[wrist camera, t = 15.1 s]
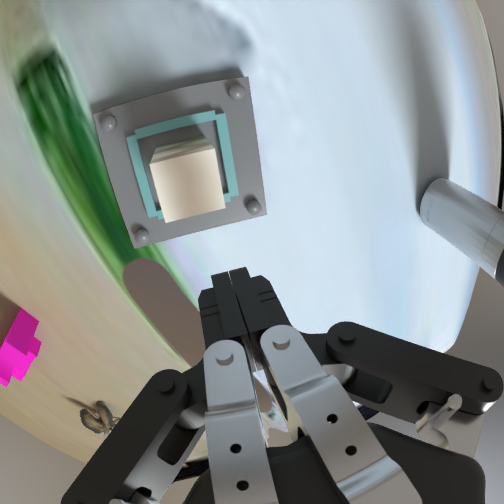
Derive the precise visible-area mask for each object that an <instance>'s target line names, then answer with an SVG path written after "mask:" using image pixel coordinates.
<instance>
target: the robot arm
mask: <svg viewBox="0 0 504 504" xmlns="http://www.w3.org/2000/svg"><path fill="white" fill-rule="evenodd" d="M420 216H421V220H422V222H423V223H424V224H425V225H426V226H428V227H429V228H430V229H432V230H433V231H435V232H436V233H437V234H439V235H440V236H441V237H443V238H444V239H446V240H447V241H448V242H450V243H451V244H452V245H454V246H455V247H456V248H457V249H459V250H460V251H461V252H463V253H464V254H465V255H466V256H468V257H469V258H470V259H472V260H473V261H474V262H475V263H476V264H478V265H479V266H480V267H481V268H483V269H484V270H485V271H486V272H487V273H489V274H490V275H491V276H492V277H493V278H494V279H496V280H497V281H498V282H499V283H500V284H501V285H502V286H504V211H502V210H501V209H499V208H498V207H496V206H494V205H493V204H491V203H489V202H488V201H486V200H484V199H482V198H481V197H479V196H477V195H475V194H474V193H472V192H470V191H468V190H466V189H465V188H463V187H461V186H459V185H457V184H455V183H453V182H451V181H449V180H447V179H445V178H438V179H436V180H435V181H433V182H432V183H431V184H430V185H429V187H428V188H427V190H426V192H425V194H424V196H423V199H422V202H421V207H420ZM229 274H230V277H229ZM229 274H228V271H227V272H223V273H219V274H215V275H211V278H212V283H213V288H209V289H205V290H202V291H201V293H200V296H199V298H198V303H199V309H200V315H201V322H202V328H203V334H204V339H205V346H206V351H205V354H204V357H203V358H202V360H201V361H200V362H199V363H198V364H197V365H196V366H194V367H193V368H191V369H189V370H187V371H185V372H183V373H181V372H179V371H177V370H173V369H166V370H162V371H160V372H158V373H156V374H155V375H153V376H152V377H151V379H150V380H149V381H148V383H147V384H146V385H145V387H144V388H143V389H142V391H141V392H140V393H139V395H138V396H137V397H136V399H135V400H134V401H133V403H132V404H131V405H130V407H129V408H128V409H127V411H126V412H125V413H124V415H123V416H122V417H121V419H120V420H119V421H118V423H117V424H116V425H115V427H114V428H113V429H112V431H111V432H110V433H109V435H108V436H107V438H106V439H105V440H104V442H103V443H102V444H101V446H100V447H99V448H98V450H97V451H96V452H95V454H94V455H93V456H92V458H91V459H90V460H89V462H88V463H87V464H86V466H85V467H84V469H83V470H82V471H81V473H80V474H79V476H78V477H77V478H76V479H75V481H74V482H73V483H72V485H71V486H70V488H69V489H68V490H67V492H66V493H65V494H64V496H63V497H62V500H61V504H161V503H160V502H159V501H160V500H161V498H162V497H163V495H164V494H165V492H166V491H167V489H168V488H169V486H170V485H171V483H172V482H173V480H174V478H175V477H176V475H177V474H178V472H179V471H180V469H181V468H182V466H183V464H184V463H185V461H186V460H187V458H188V457H189V455H190V453H191V452H192V450H193V448H194V447H195V445H196V444H197V442H198V440H199V439H200V437H201V435H202V434H203V432H204V430H206V439H207V448H208V456H209V464H210V468H209V469H207V470H206V471H205V472H204V473H203V474H202V475H201V476H200V477H199V478H198V479H197V481H196V482H195V483H194V485H193V487H192V488H191V490H190V492H189V494H188V496H187V497H186V499H185V501H184V502H183V504H485V475H484V471H483V469H482V467H481V466H480V464H479V463H478V462H477V461H476V460H475V459H473V458H474V455H475V451H476V448H477V444H478V441H479V437H480V433H481V429H482V425H483V421H484V416H485V413H486V411H487V410H488V408H490V407H491V406H492V405H493V404H494V403H495V402H496V401H497V400H498V398H499V397H500V396H501V395H502V392H503V381H502V378H501V376H500V375H499V373H498V372H497V371H495V370H494V369H492V368H489V367H485V366H482V365H479V364H476V363H472V362H469V361H466V360H462V359H460V358H456V357H453V356H450V355H447V354H444V353H441V352H438V351H435V350H432V349H429V348H426V347H423V346H420V345H417V344H414V343H411V342H408V341H405V340H402V339H399V338H396V337H393V336H390V335H387V334H385V333H382V332H379V331H376V330H373V329H370V328H368V327H365V326H362V325H359V324H356V323H353V322H340V323H337V324H335V325H333V326H332V327H331V328H330V329H329V330H328V332H327V333H323V334H306V333H302V332H300V331H298V330H297V329H295V328H294V327H293V326H292V325H291V323H290V322H289V320H288V318H287V316H286V314H285V312H284V310H283V307H282V305H281V303H280V301H279V299H278V298H277V295H276V293H275V291H274V289H273V287H272V285H271V283H270V281H268V280H267V279H266V278H264V277H263V276H261V275H260V276H256V277H252V278H250V275H249V273H248V270H247V268H246V267H243V268H239V269H235V270H231V271H229ZM230 279H231V280H230ZM231 283H232V284H231ZM253 358H254V360H253ZM254 361H255V364H256V367H257V370H258V371H259V370H262V369H264V372H265V375H266V378H267V382H268V386H269V389H270V391H271V393H272V395H273V397H274V399H275V402H276V404H277V406H278V408H279V410H280V412H281V414H282V416H283V418H284V421H285V423H286V425H287V428H288V431H289V434H290V436H291V438H292V441H293V443H292V444H290V445H288V446H283V447H268V444H267V439H266V436H265V432H264V427H263V423H262V419H261V414H260V410H259V406H258V401H257V397H256V392H255V381H254V377H253V373H252V372H256V368H255V364H254ZM352 401H355V402H357V403H359V404H362V405H364V406H367V407H369V408H372V409H375V410H377V411H380V412H382V413H385V414H388V415H391V416H394V417H396V418H399V419H402V420H405V421H408V422H411V423H414V424H416V430H417V433H418V435H419V437H420V438H422V439H424V440H426V441H428V442H429V443H430V444H428V443H425V442H423V441H420V440H417V439H415V438H412V437H409V436H407V435H404V434H402V433H399V432H396V431H394V430H391V429H389V428H387V427H384V426H381V425H379V424H374V423H369V422H366V421H365V420H364V418H363V417H362V415H361V414H360V412H359V411H358V409H357V408H356V406H355V405H354V403H353V402H352Z"/></svg>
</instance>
